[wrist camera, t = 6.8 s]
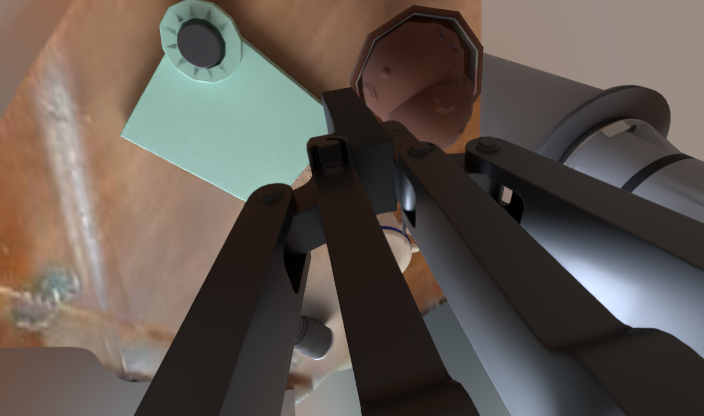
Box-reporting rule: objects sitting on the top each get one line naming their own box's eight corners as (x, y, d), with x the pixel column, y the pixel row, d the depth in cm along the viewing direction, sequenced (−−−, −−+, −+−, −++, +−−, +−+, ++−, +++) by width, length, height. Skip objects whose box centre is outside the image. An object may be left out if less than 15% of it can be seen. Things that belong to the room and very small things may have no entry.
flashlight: (240, 301, 48) (237, 333, 43) (266, 282, 46) (265, 312, 42) (308, 336, 56) (311, 366, 52) (331, 321, 55) (336, 350, 51)
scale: (346, 110, 34) (352, 121, 31) (267, 204, 39) (267, 221, 36) (192, -20, 25) (183, -21, 23) (116, 122, 30) (100, 136, 27)
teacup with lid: (321, 240, 44) (334, 309, 35) (328, 185, 39) (346, 247, 30) (400, 239, 47) (431, 302, 38) (416, 187, 42) (457, 245, 33)
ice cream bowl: (448, 79, 34) (542, 129, 22) (361, 133, 36) (406, 207, 24) (413, -26, 28) (517, -34, 16) (310, 45, 30) (336, 85, 18)
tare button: (229, 41, 26) (227, 44, 24) (211, 71, 27) (207, 76, 25) (193, 12, 24) (188, 14, 23) (175, 45, 25) (169, 49, 24)
